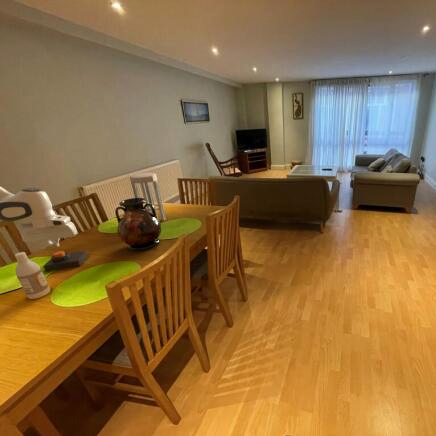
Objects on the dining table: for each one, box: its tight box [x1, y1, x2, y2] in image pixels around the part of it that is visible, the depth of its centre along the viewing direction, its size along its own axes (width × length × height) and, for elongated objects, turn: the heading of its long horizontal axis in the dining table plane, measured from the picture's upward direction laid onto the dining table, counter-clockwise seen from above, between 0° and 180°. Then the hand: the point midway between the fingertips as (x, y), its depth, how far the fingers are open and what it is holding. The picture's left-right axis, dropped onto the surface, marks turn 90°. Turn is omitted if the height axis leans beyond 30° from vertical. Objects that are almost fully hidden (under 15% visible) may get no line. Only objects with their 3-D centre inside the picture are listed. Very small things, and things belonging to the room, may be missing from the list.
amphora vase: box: [114, 197, 162, 252], centre depth 138 cm, size 22×22×28 cm
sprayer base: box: [43, 250, 89, 272], centre depth 124 cm, size 14×11×5 cm
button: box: [53, 250, 65, 258], centre depth 122 cm, size 4×4×2 cm
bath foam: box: [14, 251, 51, 300], centre depth 99 cm, size 7×7×20 cm
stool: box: [129, 172, 167, 221], centre depth 169 cm, size 16×16×35 cm
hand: (55, 246), depth 121 cm, fingers closed
